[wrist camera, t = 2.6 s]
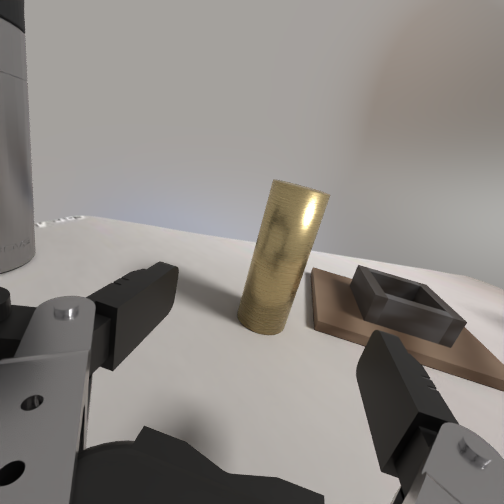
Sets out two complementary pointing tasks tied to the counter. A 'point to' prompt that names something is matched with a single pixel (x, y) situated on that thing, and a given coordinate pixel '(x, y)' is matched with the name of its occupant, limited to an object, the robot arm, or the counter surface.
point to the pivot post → (280, 255)
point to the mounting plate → (402, 321)
